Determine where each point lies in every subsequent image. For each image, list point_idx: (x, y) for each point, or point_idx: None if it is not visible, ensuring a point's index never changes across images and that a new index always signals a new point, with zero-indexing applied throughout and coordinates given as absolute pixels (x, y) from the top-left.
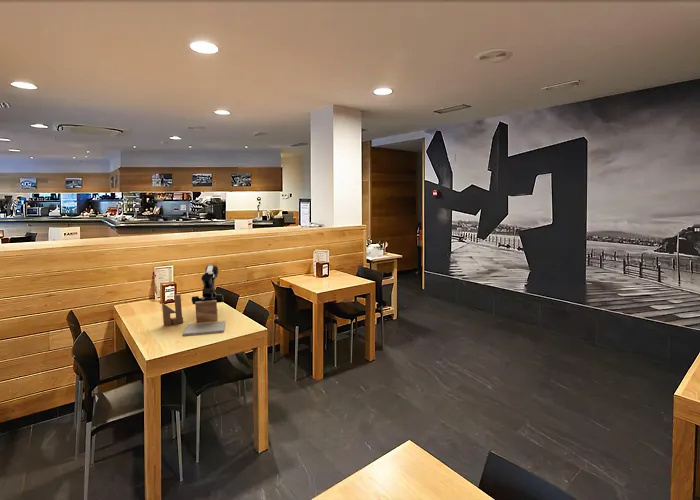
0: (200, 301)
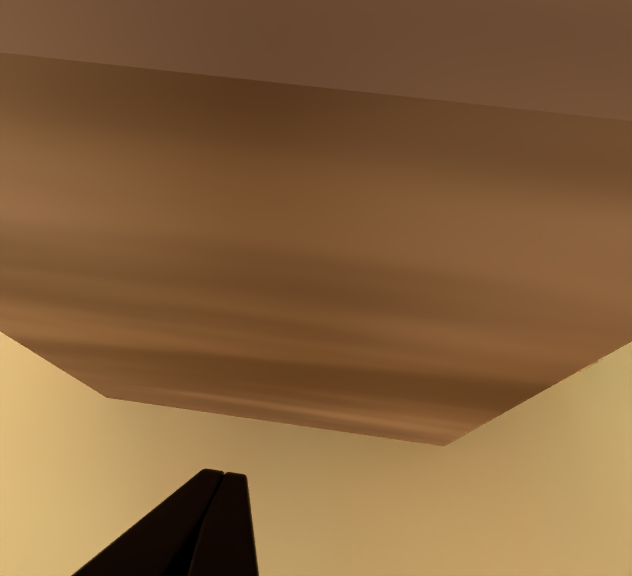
0: (567, 70)
